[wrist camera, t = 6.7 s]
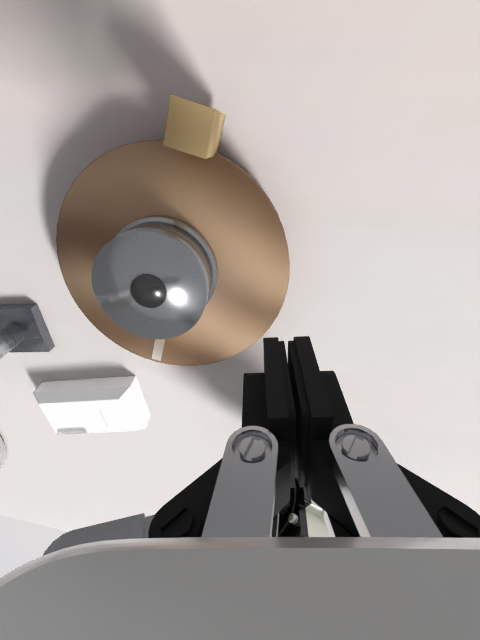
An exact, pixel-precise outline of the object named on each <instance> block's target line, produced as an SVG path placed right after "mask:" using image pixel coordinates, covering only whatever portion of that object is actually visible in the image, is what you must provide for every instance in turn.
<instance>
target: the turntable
mask: <svg viewBox="0 0 480 640" xmlns="http://www.w3.org/2000/svg"><path fill="white" fill-rule="evenodd" d="M225 116H226V115H224V114H223V113H221V112H219V111H218V110H216V109H213V108H210V107H207V106H204V105H201V104H198V103H195V102H192V101H189V100H186V99H183V98H180V97H177V96H174V95H171V94H170V101H169V108H168V115H167V122H166V129H165V136H164V140H154V141H141V142H136V143H132V144H127V145H124V146H121V147H119V148H116V149H114V150H111V151H109V152H107V153H106V154H104V155H102V156H101V157H99V158H97V159H96V160H95V161H93V162H92V163H91V164H90V165H89V166H88V167H87V168H85V169H84V170H83V171H82V172H81V174H80V175H79V176H78V177H77V179H76V180H75V181H74V182H73V184H72V186H71V187H70V189H69V191H68V193H67V194H66V196H65V199H64V202H63V204H62V207H61V210H60V214H59V219H58V223H57V237H56V241H57V254H58V259H59V264H60V269H61V271H62V274H63V277H64V280H65V283H66V285H67V287H68V289H69V291H70V293H71V295H72V297H73V299H74V300H75V302H76V304H77V305H78V307H79V308H80V309H81V311H82V312H83V313H84V315H85V316H86V317H87V318H88V320H89V321H90V322H91V323H92V324H93V325H94V326H95V327H96V328H97V329H98V330H99V331H101V332H102V333H103V334H104V335H105V336H106V337H108V338H109V339H110V340H112V341H113V342H115V343H116V344H118V345H119V346H121V347H123V348H124V349H126V350H128V351H130V352H132V353H134V354H136V355H139V356H141V357H143V358H147V359H150V360H153V361H156V362H161V363H165V364H171V365H181V366H195V365H204V364H210V363H214V362H219V361H222V360H225V359H227V358H230V357H232V356H234V355H236V354H238V353H240V352H242V351H244V350H245V349H247V348H248V347H250V346H251V345H253V344H254V343H255V342H256V341H257V340H258V339H260V338H261V337H262V336H263V334H264V333H265V332H266V331H267V330H268V329H269V328H270V326H271V325H272V323H273V322H274V320H275V319H276V317H277V315H278V313H279V311H280V309H281V307H282V305H283V302H284V299H285V296H286V292H287V287H288V281H289V264H290V263H289V254H288V246H287V241H286V237H285V233H284V229H283V226H282V224H281V221H280V219H279V216H278V214H277V211H276V210H275V208H274V206H273V204H272V203H271V201H270V199H269V198H268V196H267V195H266V194H265V192H264V191H263V190H262V188H261V187H260V186H259V184H258V183H257V182H256V181H255V180H254V179H253V178H252V177H251V176H250V175H249V174H248V173H247V172H246V171H244V170H243V169H242V168H240V167H239V166H238V165H237V164H235V163H234V162H233V161H231V160H229V159H228V158H226V157H224V156H222V155H221V154H219V153H217V152H218V147H219V143H220V138H221V134H222V129H223V125H224V120H225ZM150 215H166V216H172V217H175V218H178V219H181V220H183V221H185V222H187V223H189V224H190V225H192V226H193V227H194V228H196V229H197V230H198V231H199V232H200V233H201V234H202V235H203V236H204V237H205V238H206V240H207V241H208V242H209V244H210V246H211V247H212V249H213V252H214V254H215V257H216V260H217V266H218V279H217V283H216V287H215V290H214V293H213V295H212V297H211V299H210V301H209V302H208V304H207V305H206V306H205V309H204V311H203V314H202V316H201V317H200V319H199V321H198V322H197V323H196V324H195V325H194V326H193V327H192V328H191V329H190V330H188V331H187V332H186V333H184V334H182V335H180V336H177V337H174V338H169V339H148V338H143V337H140V336H137V335H134V334H132V333H130V332H127V331H126V330H124V329H122V328H121V327H119V326H118V325H117V324H115V323H114V322H113V321H112V320H111V319H110V318H109V317H108V316H107V315H106V314H105V313H104V311H103V310H102V308H101V307H100V305H99V303H98V301H97V299H96V297H95V294H94V291H93V287H92V280H91V276H92V267H93V264H94V261H95V258H96V256H97V254H98V253H99V251H100V250H101V249H102V248H103V247H104V246H105V245H106V244H107V243H108V242H110V241H111V240H113V239H114V238H115V237H116V236H117V234H118V233H119V232H120V231H121V230H122V229H123V228H124V227H126V226H127V225H129V224H130V223H132V222H133V221H135V220H137V219H139V218H142V217H145V216H150Z"/></svg>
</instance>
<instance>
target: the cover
mask: <svg viewBox="0 0 480 640" xmlns="http://www.w3.org/2000/svg"><path fill="white" fill-rule="evenodd" d="M217 279H218V266H217V260H216V257H215V254H214V252H213V249H212V247H211V246H210V244H209V242H208V241H207V240H206V238H205V237H204V236H203V235H202V234H201V233H200V232H199V231H198V230H197V229H196V228H194V227H193V226H192V225H190V224H189V223H187V222H185V221H183V220H181V219H178V218H175V217H172V216H166V215H150V216H145V217H142V218H139V219H137V220H135V221H133V222H132V223H130V224H129V225H127V226H126V227H124V228H123V229H122V230H121V231H120V232H119V233H118V234H117V236H116V237H115V238H114V239H113V240H111V241H110V242H108V243H107V244H106V245H105V246H104V247H103V248H102V249H101V250H100V251H99V253H98V254H97V256H96V258H95V261H94V264H93V267H92V276H91V280H92V287H93V291H94V294H95V297H96V299H97V301H98V303H99V305H100V307H101V308H102V310H103V311H104V313H105V314H106V315H107V316H108V317H109V318H110V319H111V320H112V321H113V322H114V323H115V324H117V325H118V326H119V327H121V328H122V329H124V330H126V331H127V332H130V333H132V334H134V335H137V336H140V337H143V338H148V339H169V338H174V337H177V336H180V335H182V334H184V333H186V332H187V331H188V330H190V329H191V328H192V327H193V326H194V325H195V324H196V323H197V322H198V321H199V319H200V317H201V316H202V314H203V311H204V309H205V306H206V305H207V304H208V302H209V301H210V299H211V297H212V295H213V293H214V290H215V287H216V283H217Z"/></svg>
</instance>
